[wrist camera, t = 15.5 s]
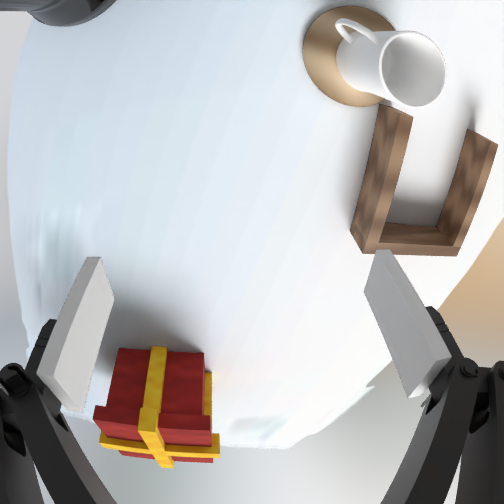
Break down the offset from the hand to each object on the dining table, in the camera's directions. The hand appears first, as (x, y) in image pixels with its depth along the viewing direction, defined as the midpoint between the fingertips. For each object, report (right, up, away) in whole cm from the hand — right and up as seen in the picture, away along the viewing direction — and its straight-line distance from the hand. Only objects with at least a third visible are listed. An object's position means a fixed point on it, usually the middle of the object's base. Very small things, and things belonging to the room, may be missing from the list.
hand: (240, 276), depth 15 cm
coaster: (+14, +26, +18) cm, 35 cm away
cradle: (+26, +12, +29) cm, 41 cm away
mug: (+14, +26, +18) cm, 34 cm away
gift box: (-20, -27, +55) cm, 64 cm away
